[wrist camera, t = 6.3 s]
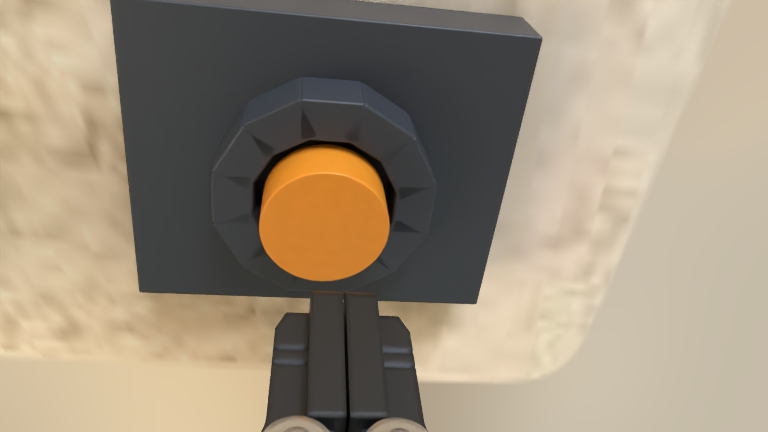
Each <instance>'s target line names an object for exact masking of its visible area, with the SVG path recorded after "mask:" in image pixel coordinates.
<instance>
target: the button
mask: <svg viewBox="0 0 768 432" xmlns="http://www.w3.org/2000/svg"><path fill="white" fill-rule="evenodd" d="M389 228H390V223H389V215H388V209H387V204H386V198H385V193H384V188H383V184H382V181H381V178H380V176H379V174H378V172H377V171H376V169H375V168H374V167H373V165H372V164H371V163H370V162H369V161H368V160H367V159H365V158H364V157H363V156H361V155H360V154H358V153H356V152H354V151H353V150H350V149H347V148H345V147H341V146H337V145H329V144H319V145H311V146H307V147H303V148H300V149H298V150H295V151H293V152H291V153H289V154H288V155H287V156H285V157H284V158H282V159H281V160H280V161H279V162H278V163H277V164H276V165H275V166H274V167H273V169H272V170H271V172H270V173H269V175H268V177H267V179H266V182H265V186H264V190H263V197H262V205H261V212H260V219H259V234H260V239H261V242H262V244H263V247H264V249H265V250H266V252H267V254H268V255H269V256H270V258H271V259H272V260H273V261H274V262H275V263H276V264H277V265H278V266H279V267H281V268H282V269H283V270H285V271H287V272H289V273H290V274H293V275H295V276H297V277H300V278H304V279H308V280H313V281H334V280H340V279H344V278H347V277H350V276H353V275H355V274H357V273H359V272H361V271H362V270H364V269H366V268H367V267H368V266H369V265H371V264H372V263H373V262H374V261H375V260H376V259H377V258H378V256H379V255H380V254H381V252H382V250H383V249H384V247H385V245H386V242H387V240H388V236H389Z"/></svg>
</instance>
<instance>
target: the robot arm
mask: <svg viewBox="0 0 768 432" xmlns="http://www.w3.org/2000/svg"><path fill="white" fill-rule="evenodd" d="M412 352H413V349H412V343H411V337H410V332H409V331H408V329H407V328H406V327H405V325H404V324H403V322H402V321H401V320H400V318H399V317H397V316H379V310H378V301H377V294H376V293H356V292H345V293H344V300H343V293H342V292H329V291H311V296H310V311H309V313H286V314H285V315H284V317H283V318H282V320H281V321H280V322H279V324H278V325H277V327H276V328H275V337H274V347H273V357H272V367H271V376H270V387H269V396H268V407H267V416H266V422H265V425H264V427H263V429H262V431H261V432H428V431H427V429H426V426H425V424H424V419H423V413H422V406H421V400H420V394H419V387H418V381H417V375H416V368H415V362H414V356H413V353H412Z"/></svg>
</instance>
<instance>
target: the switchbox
mask: <svg viewBox="0 0 768 432" xmlns="http://www.w3.org/2000/svg"><path fill="white" fill-rule="evenodd" d="M110 4H111V14H112V24H113V34H114V44H115V54H116V64H117V74H118V84H119V94H120V104H121V113H122V123H123V133H124V143H125V153H126V163H127V173H128V183H129V193H130V203H131V213H132V223H133V233H134V242H135V252H136V262H137V272H138V282H139V291H140V292H148V293H176V294H204V295H232V296H260V297H288V298H310V296H311V291H329V292H342V293H343V300H344V293H345V292H356V293H376V294H377V301H399V302H427V303H455V304H476V303H477V299H478V295H479V291H480V287H481V283H482V279H483V275H484V271H485V267H486V263H487V259H488V255H489V251H490V247H491V243H492V239H493V235H494V231H495V227H496V223H497V219H498V215H499V211H500V207H501V203H502V199H503V195H504V191H505V187H506V183H507V179H508V175H509V171H510V167H511V163H512V159H513V155H514V151H515V147H516V143H517V139H518V135H519V131H520V127H521V123H522V119H523V115H524V111H525V107H526V103H527V99H528V95H529V91H530V87H531V83H532V79H533V75H534V71H535V67H536V63H537V59H538V55H539V51H540V47H541V43H542V37H541V36H540V35H539V34H538V33H537V32H536V31H535V30H534V29H533V28H532V27H531V26H530V25H529V24H528V23H527V22H526V21H525V20H524V19H523V18H522V17H513V16H503V15H493V14H483V13H473V12H464V11H454V10H444V9H434V8H424V7H414V6H404V5H394V4H384V3H374V2H364V1H354V0H110ZM319 144H329V145H337V146H341V147H345V148H347V149H350V150H353V151H354V152H356V153H358V154H360V155H361V156H363V157H364V158H365V159H367V160H368V161H369V162H370V163H371V164H372V165H373V167H374V168H375V169H376V171H377V172H378V174H379V176H380V178H381V181H382V184H383V188H384V193H385V198H386V204H387V209H388V215H389V223H390V228H389V236H388V240H387V242H386V245H385V247H384V249H383V250H382V252H381V254H380V255H379V256H378V258H377V259H376V260H375V261H374V262H373V263H372V264H371V265H369V266H368V267H367V268H366V269H364V270H362V271H361V272H359V273H357V274H355V275H353V276H350V277H347V278H344V279H340V280H334V281H313V280H308V279H304V278H300V277H297V276H295V275H293V274H290V273H289V272H287V271H285V270H283V269H282V268H281V267H279V266H278V265H277V264H276V263H275V262H274V261H273V260H272V259H271V258H270V256H269V255H268V254H267V252H266V250H265V249H264V247H263V244H262V242H261V239H260V234H259V219H260V212H261V205H262V197H263V190H264V186H265V182H266V179H267V177H268V175H269V173H270V172H271V170H272V169H273V167H274V166H275V165H276V164H277V163H278V162H279V161H280V160H281V159H282V158H284V157H285V156H287V155H288V154H289V153H291V152H293V151H295V150H298V149H300V148H303V147H307V146H311V145H319Z"/></svg>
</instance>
